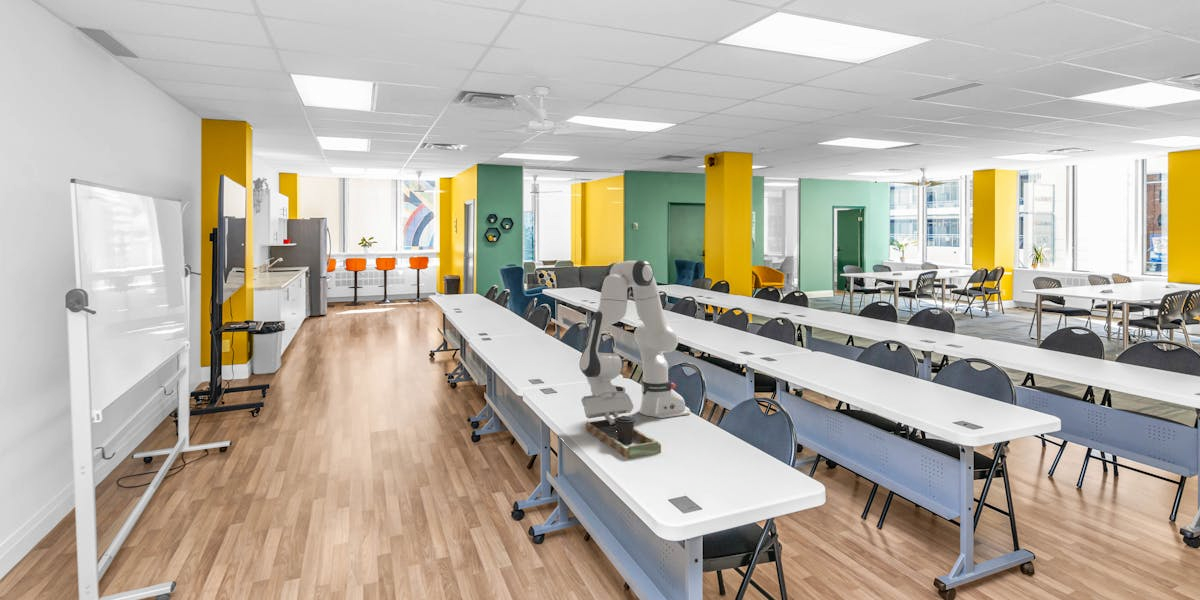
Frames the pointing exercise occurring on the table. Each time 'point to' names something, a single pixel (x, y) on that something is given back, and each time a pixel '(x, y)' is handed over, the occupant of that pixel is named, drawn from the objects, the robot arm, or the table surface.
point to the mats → (609, 430)
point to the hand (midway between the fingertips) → (614, 424)
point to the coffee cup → (625, 429)
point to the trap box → (631, 451)
